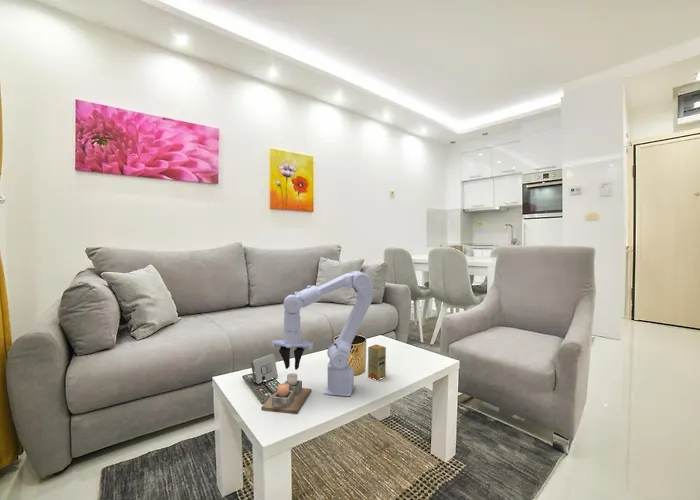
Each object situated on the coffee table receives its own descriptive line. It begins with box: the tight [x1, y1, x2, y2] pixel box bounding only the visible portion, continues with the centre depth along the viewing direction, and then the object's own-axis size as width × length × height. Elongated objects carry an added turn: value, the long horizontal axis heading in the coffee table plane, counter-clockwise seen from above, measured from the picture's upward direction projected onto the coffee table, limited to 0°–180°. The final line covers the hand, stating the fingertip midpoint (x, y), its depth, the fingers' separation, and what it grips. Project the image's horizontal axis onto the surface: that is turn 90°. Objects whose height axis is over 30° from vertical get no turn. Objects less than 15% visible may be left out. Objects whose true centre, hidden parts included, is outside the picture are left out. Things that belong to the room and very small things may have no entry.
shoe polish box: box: [367, 344, 387, 381], centre depth 124 cm, size 5×5×12 cm
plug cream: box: [286, 372, 298, 386], centre depth 109 cm, size 4×4×3 cm
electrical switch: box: [250, 353, 279, 384], centre depth 121 cm, size 9×5×9 cm, turn 141°
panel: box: [260, 379, 312, 415], centre depth 105 cm, size 12×15×4 cm
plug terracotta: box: [277, 382, 289, 397], centre depth 101 cm, size 4×4×3 cm
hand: (292, 368), depth 109 cm, fingers open, 3 cm apart
